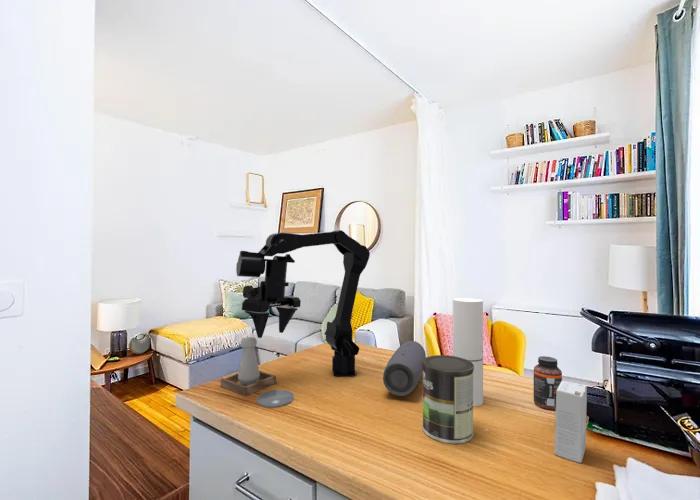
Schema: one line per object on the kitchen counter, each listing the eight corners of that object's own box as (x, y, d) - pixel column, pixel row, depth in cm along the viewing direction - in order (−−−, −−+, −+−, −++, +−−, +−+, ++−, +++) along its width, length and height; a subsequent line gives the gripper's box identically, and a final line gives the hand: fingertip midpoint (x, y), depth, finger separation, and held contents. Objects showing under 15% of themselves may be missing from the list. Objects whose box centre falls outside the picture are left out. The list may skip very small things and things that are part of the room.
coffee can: (427, 444, 66) (427, 370, 66) (418, 418, 76) (418, 354, 76) (481, 445, 65) (481, 371, 65) (465, 418, 76) (465, 355, 76)
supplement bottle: (559, 413, 78) (558, 364, 78) (530, 405, 82) (530, 358, 82) (564, 405, 82) (564, 358, 82) (537, 397, 86) (537, 353, 86)
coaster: (295, 391, 90) (295, 389, 90) (291, 407, 81) (291, 404, 81) (261, 392, 90) (261, 390, 90) (253, 408, 81) (253, 405, 81)
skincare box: (559, 441, 67) (559, 379, 67) (587, 449, 64) (587, 384, 64) (553, 455, 62) (553, 388, 62) (583, 465, 59) (583, 395, 59)
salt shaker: (262, 381, 97) (262, 335, 98) (255, 389, 92) (255, 340, 92) (242, 380, 98) (243, 335, 98) (234, 388, 92) (234, 340, 92)
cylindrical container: (484, 397, 87) (483, 298, 87) (482, 408, 80) (481, 302, 81) (455, 392, 90) (454, 297, 90) (450, 403, 83) (450, 300, 84)
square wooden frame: (252, 375, 102) (252, 368, 102) (276, 382, 96) (276, 375, 96) (220, 386, 94) (220, 379, 94) (244, 395, 88) (244, 388, 88)
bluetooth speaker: (418, 404, 83) (418, 362, 83) (380, 398, 86) (380, 359, 86) (427, 372, 105) (427, 340, 105) (397, 369, 108) (397, 337, 108)
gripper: (273, 276, 106) (269, 326, 105) (228, 275, 89) (223, 335, 89) (303, 278, 101) (299, 331, 101) (261, 279, 85) (256, 342, 84)
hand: (270, 335), depth 94 cm, fingers open, 9 cm apart
